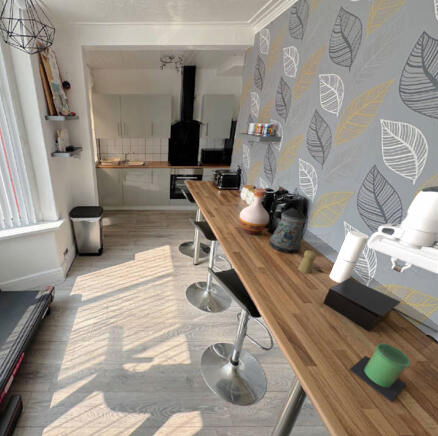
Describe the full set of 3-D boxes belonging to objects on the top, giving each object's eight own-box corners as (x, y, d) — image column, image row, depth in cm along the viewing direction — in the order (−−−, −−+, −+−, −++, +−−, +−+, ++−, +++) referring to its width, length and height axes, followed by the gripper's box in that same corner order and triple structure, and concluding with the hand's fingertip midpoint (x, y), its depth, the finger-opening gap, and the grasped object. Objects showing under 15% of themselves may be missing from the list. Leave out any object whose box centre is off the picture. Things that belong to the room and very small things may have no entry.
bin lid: (400, 303, 88) (400, 301, 88) (380, 317, 82) (381, 315, 81) (348, 279, 102) (349, 277, 102) (329, 289, 95) (329, 288, 95)
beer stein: (271, 251, 137) (282, 211, 127) (266, 236, 154) (275, 200, 144) (302, 256, 133) (317, 215, 122) (294, 240, 150) (306, 204, 140)
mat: (406, 385, 69) (406, 384, 69) (391, 402, 65) (391, 401, 65) (365, 356, 77) (365, 355, 77) (349, 369, 73) (350, 368, 73)
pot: (398, 382, 69) (414, 359, 65) (387, 393, 66) (404, 370, 62) (369, 361, 75) (383, 339, 71) (358, 371, 72) (372, 348, 68)
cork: (299, 265, 125) (306, 247, 120) (312, 270, 121) (320, 252, 116) (296, 269, 121) (302, 251, 116) (309, 275, 117) (317, 256, 112)
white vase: (237, 223, 171) (245, 183, 159) (263, 228, 165) (274, 187, 153) (236, 235, 154) (245, 191, 142) (265, 240, 148) (278, 195, 136)
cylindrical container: (333, 283, 111) (354, 237, 101) (326, 274, 118) (344, 230, 108) (350, 285, 110) (373, 239, 100) (341, 276, 117) (362, 231, 107)
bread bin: (386, 318, 92) (395, 303, 89) (367, 333, 86) (376, 317, 83) (342, 293, 105) (348, 279, 102) (322, 304, 98) (328, 289, 95)
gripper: (469, 248, 69) (444, 285, 75) (381, 222, 86) (366, 254, 91) (462, 253, 66) (437, 291, 72) (373, 225, 83) (358, 258, 89)
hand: (397, 270), depth 82 cm, fingers closed
